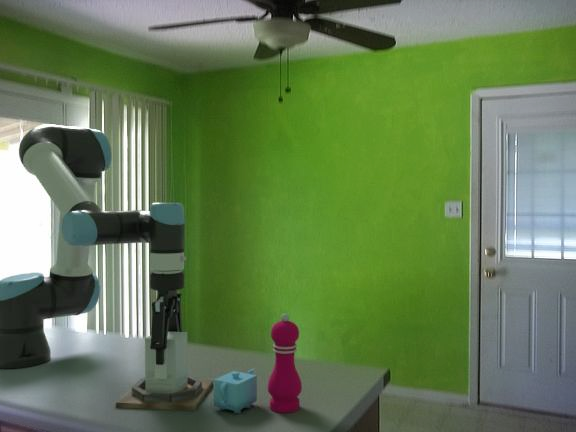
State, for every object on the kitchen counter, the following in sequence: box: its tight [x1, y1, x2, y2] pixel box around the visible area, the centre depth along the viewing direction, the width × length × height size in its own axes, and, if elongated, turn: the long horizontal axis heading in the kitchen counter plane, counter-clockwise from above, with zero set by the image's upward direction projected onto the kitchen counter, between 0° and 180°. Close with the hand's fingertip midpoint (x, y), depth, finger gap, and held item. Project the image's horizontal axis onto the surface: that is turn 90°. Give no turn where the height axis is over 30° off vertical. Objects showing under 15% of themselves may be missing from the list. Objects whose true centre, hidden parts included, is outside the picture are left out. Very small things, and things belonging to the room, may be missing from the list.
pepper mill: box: [267, 313, 303, 414], centre depth 117 cm, size 7×7×20 cm
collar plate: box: [115, 374, 214, 411], centre depth 125 cm, size 17×17×2 cm
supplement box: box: [144, 331, 188, 393], centre depth 125 cm, size 7×7×13 cm
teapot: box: [213, 367, 258, 414], centre depth 118 cm, size 12×6×8 cm, turn 149°
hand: (167, 372), depth 125 cm, fingers closed on supplement box, 8 cm apart
